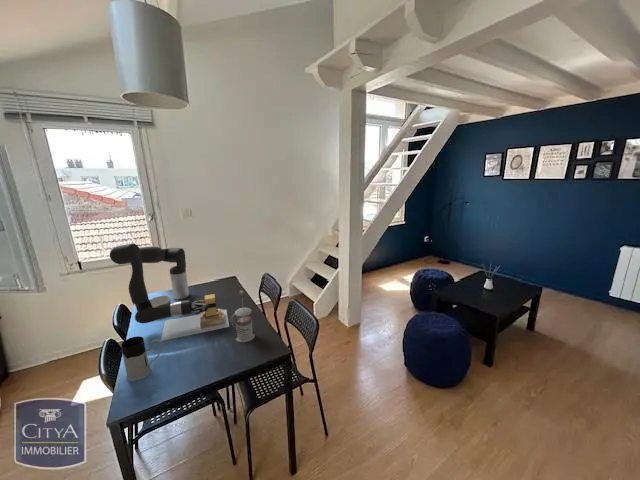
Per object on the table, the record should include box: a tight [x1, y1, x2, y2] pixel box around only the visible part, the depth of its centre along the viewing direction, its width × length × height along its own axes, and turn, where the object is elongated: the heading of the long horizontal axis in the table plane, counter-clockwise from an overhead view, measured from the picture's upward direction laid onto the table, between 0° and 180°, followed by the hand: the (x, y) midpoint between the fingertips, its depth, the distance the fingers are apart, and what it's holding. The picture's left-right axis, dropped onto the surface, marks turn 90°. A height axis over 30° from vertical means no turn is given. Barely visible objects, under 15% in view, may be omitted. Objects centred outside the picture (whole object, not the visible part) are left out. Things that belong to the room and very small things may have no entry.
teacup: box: [149, 295, 172, 308], centre depth 160 cm, size 15×12×8 cm
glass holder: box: [120, 336, 163, 382], centre depth 113 cm, size 9×14×15 cm, turn 114°
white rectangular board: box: [160, 309, 230, 342], centre depth 149 cm, size 20×32×1 cm, turn 113°
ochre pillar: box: [204, 293, 217, 316], centre depth 149 cm, size 5×5×10 cm
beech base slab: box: [199, 308, 225, 328], centre depth 151 cm, size 12×12×4 cm
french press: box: [230, 290, 256, 343], centre depth 136 cm, size 10×12×25 cm
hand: (215, 302), depth 150 cm, fingers closed on ochre pillar, 5 cm apart
